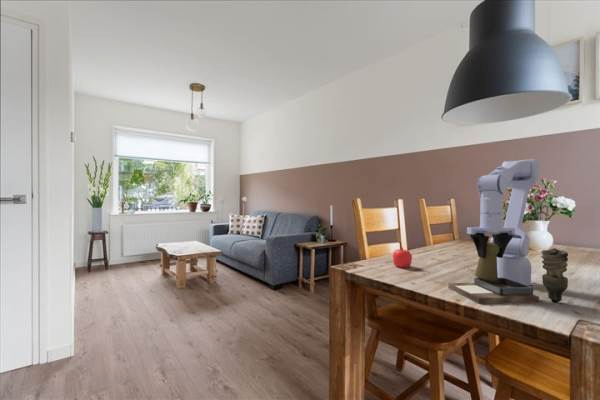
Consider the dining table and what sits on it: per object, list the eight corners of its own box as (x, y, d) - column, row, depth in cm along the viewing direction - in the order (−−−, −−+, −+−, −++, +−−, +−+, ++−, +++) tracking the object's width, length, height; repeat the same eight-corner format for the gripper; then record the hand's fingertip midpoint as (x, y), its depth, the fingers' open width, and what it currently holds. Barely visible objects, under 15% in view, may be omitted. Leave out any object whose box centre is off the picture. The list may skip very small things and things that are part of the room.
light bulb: (539, 301, 77) (540, 247, 77) (541, 296, 81) (542, 245, 81) (567, 307, 73) (568, 250, 73) (567, 302, 77) (569, 248, 77)
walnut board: (500, 286, 90) (500, 282, 90) (538, 301, 77) (538, 296, 77) (448, 287, 88) (448, 283, 88) (478, 303, 75) (478, 298, 75)
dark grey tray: (503, 283, 89) (503, 277, 89) (534, 294, 78) (534, 287, 78) (473, 284, 88) (473, 277, 87) (500, 295, 77) (500, 288, 77)
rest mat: (476, 285, 86) (476, 285, 86) (493, 293, 79) (493, 292, 79) (455, 286, 85) (455, 285, 85) (471, 294, 78) (471, 293, 78)
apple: (416, 268, 112) (416, 249, 112) (397, 269, 111) (397, 249, 111) (406, 264, 120) (406, 245, 120) (388, 264, 119) (388, 245, 119)
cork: (479, 279, 85) (483, 244, 84) (471, 272, 91) (475, 239, 90) (501, 281, 84) (505, 246, 83) (492, 275, 89) (496, 241, 88)
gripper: (502, 213, 90) (501, 254, 91) (460, 212, 89) (459, 254, 89) (521, 214, 83) (520, 259, 84) (476, 213, 82) (475, 259, 82)
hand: (490, 257), depth 86 cm, fingers closed on cork, 5 cm apart
